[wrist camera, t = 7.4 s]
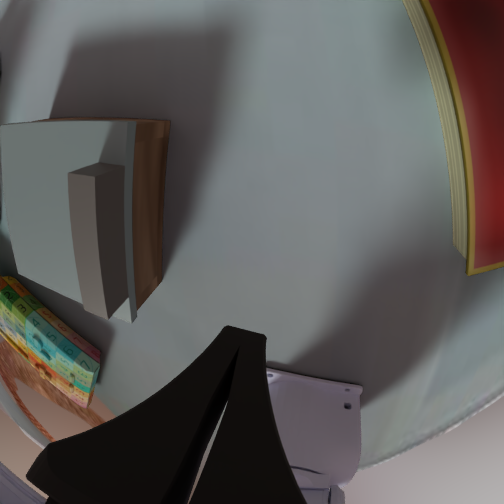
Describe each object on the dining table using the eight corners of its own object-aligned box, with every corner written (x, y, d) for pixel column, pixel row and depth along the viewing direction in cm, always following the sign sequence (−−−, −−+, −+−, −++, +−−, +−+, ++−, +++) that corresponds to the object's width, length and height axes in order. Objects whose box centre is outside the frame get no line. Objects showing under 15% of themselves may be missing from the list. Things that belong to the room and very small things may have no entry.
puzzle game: (83, 413, 30) (-15, 324, 29) (99, 390, 34) (4, 307, 33) (89, 379, 25) (-26, 269, 23) (111, 350, 29) (-1, 252, 27)
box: (170, 120, 17) (136, 124, 13) (161, 281, 22) (137, 310, 19) (48, 118, 18) (12, 125, 15) (55, 246, 24) (27, 266, 20)
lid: (136, 121, 13) (96, 126, 10) (137, 316, 19) (113, 346, 16) (8, 123, 14) (-25, 132, 11) (24, 269, 20) (0, 287, 17)
